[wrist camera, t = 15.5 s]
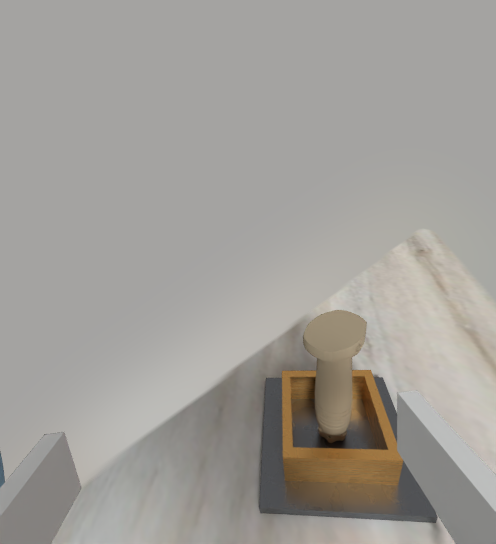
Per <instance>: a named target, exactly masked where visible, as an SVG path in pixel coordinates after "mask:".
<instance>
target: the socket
mask: <svg viewBox="0 0 496 544" xmlns="http://www.w3.org/2000/svg"><path fill="white" fill-rule="evenodd" d="M315 383H316V371H282V378H266V389H265V408H264V427H263V447H262V466H261V485H260V504H259V508H260V513H272V514H290V515H308V516H326V517H343V518H361V519H379V520H397V521H414V522H432V523H436V520H437V515H436V512H435V510H434V508H433V507H432V505H431V504H430V502H429V500H428V499H427V497H426V496H425V494H424V492H423V491H422V489H421V488H420V486H419V485H418V483H417V481H416V480H415V478H414V477H413V475H412V473H411V472H410V470H409V469H408V467H407V465H406V464H405V462H404V461H403V459H402V458H401V456H400V454H399V453H398V451H397V413H396V410H395V408H394V405H393V403H392V400H391V398H390V395H389V392H388V390H387V387H386V385H385V382H384V380H383V378H373V375H372V372H371V370H352V411H351V417H350V421H349V425H348V428H347V430H346V431H347V434H346V437H345V439H344V440H343V441H335V442H333V443H329V442H328V440H327V439H326V438H324V437H322V436H320V434H319V431H318V427H319V425H318V422H317V418H316V412H315Z"/></svg>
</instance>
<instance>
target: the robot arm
mask: <svg viewBox="0 0 496 544" xmlns="http://www.w3.org/2000/svg"><path fill="white" fill-rule="evenodd" d="M397 451H398V453H399V454H400V456H401V458H402V459H403V461H404V462H405V464H406V465H407V467H408V469H409V470H410V472H411V473H412V475H413V477H414V478H415V480H416V481H417V483H418V485H419V486H420V488H421V489H422V491H423V492H424V494H425V496H426V497H427V499H428V500H429V502H430V504H431V505H432V507H433V508H434V510H435V511H436V513H437V515H438V516H439V518H440V519H441V521H442V523H443V524H444V526H445V527H446V529H447V530H448V532H449V534H450V535H451V537H452V538H453V540H454V542H455V543H456V544H496V474H495V473H494V472H493V471H492V470H491V469H490V468H489V467H488V466H487V465H486V464H485V463H484V462H483V460H482V459H481V458H480V457H479V456H478V455H477V454H476V453H475V452H474V451H473V450H472V449H471V448H470V447H469V445H468V444H467V443H466V442H465V441H464V440H463V439H462V438H461V437H460V436H459V435H458V434H457V433H456V432H455V431H454V429H453V428H452V427H451V426H450V425H449V424H448V423H447V422H446V421H445V420H444V419H443V418H442V417H441V416H440V414H439V413H438V412H437V411H436V410H435V409H434V408H433V407H432V406H431V405H430V404H429V403H428V402H427V401H426V400H425V398H424V397H423V396H422V395H421V394H420V393H419V392H418V391H417V390H415V391H406V392H398V393H397ZM80 490H81V485H80V481H79V478H78V475H77V472H76V469H75V465H74V462H73V459H72V456H71V453H70V450H69V446H68V443H67V440H66V437H65V433H64V432H61V433H53V434H45V435H44V436H43V437H42V438H41V439H40V441H39V442H38V443H37V444H36V446H35V447H34V448H33V449H32V451H30V453H29V454H28V455H27V456H26V457H25V459H24V460H23V461H22V462H21V464H20V465H19V466H18V467H17V469H16V470H15V471H14V472H13V473H12V474H11V476H10V477H9V478H8V479H7V480H6V482H5V479H4V470H3V463H2V458H1V453H0V544H51V543H52V541H53V539H54V537H55V536H56V534H57V532H58V530H59V528H60V526H61V525H62V523H63V521H64V519H65V517H66V515H67V514H68V512H69V510H70V508H71V506H72V505H73V503H74V501H75V499H76V497H77V495H78V494H79V492H80Z"/></svg>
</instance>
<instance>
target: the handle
mask: <svg viewBox="0 0 496 544" xmlns="http://www.w3.org/2000/svg"><path fill="white" fill-rule="evenodd" d="M366 324H367V322H366V321H365V320H364V319H363V318H361V317H360V316H358V315H356V314H354V313H351V312H348V311H343V310H335V311H331V312H327V313H324V314H321V315H320V316H318V317H316V318H315V319H314V320H312V321H311V322H310V323H309V324H308V325H307V327H306V329H305V332H304V335H303V343H304V346H305V348H306V350H307V351H308V352H309V353H310V354H311V355H313V356H314V357H316V358H317V370H316V383H315V412H316V418H317V422H318V425H319V427H318V431H319V434H320V436H322V437H324V438H326V439H327V440H328V442H329V443H333V442H335V441H343V440H344V439H345V437H346V434H347V431H346V430H347V428H348V425H349V421H350V417H351V411H352V357H353V356H355V355H357V354H358V353H359V351H360V350H361V348H362V346H363V344H364V341H365V334H366Z"/></svg>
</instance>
